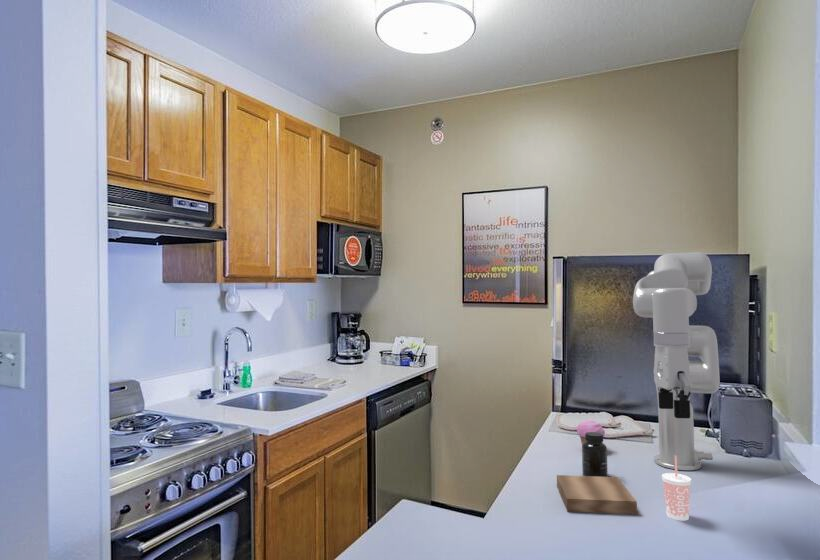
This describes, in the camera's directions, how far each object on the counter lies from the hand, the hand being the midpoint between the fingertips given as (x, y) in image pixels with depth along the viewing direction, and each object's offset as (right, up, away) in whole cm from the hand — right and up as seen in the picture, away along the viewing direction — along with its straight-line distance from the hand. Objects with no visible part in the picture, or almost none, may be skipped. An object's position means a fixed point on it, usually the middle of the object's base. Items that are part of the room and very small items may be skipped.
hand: (673, 413), depth 116 cm
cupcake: (-2, -26, +49) cm, 55 cm away
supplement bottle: (-9, -25, +26) cm, 37 cm away
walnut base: (-15, -25, +9) cm, 30 cm away
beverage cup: (0, -24, -1) cm, 24 cm away
